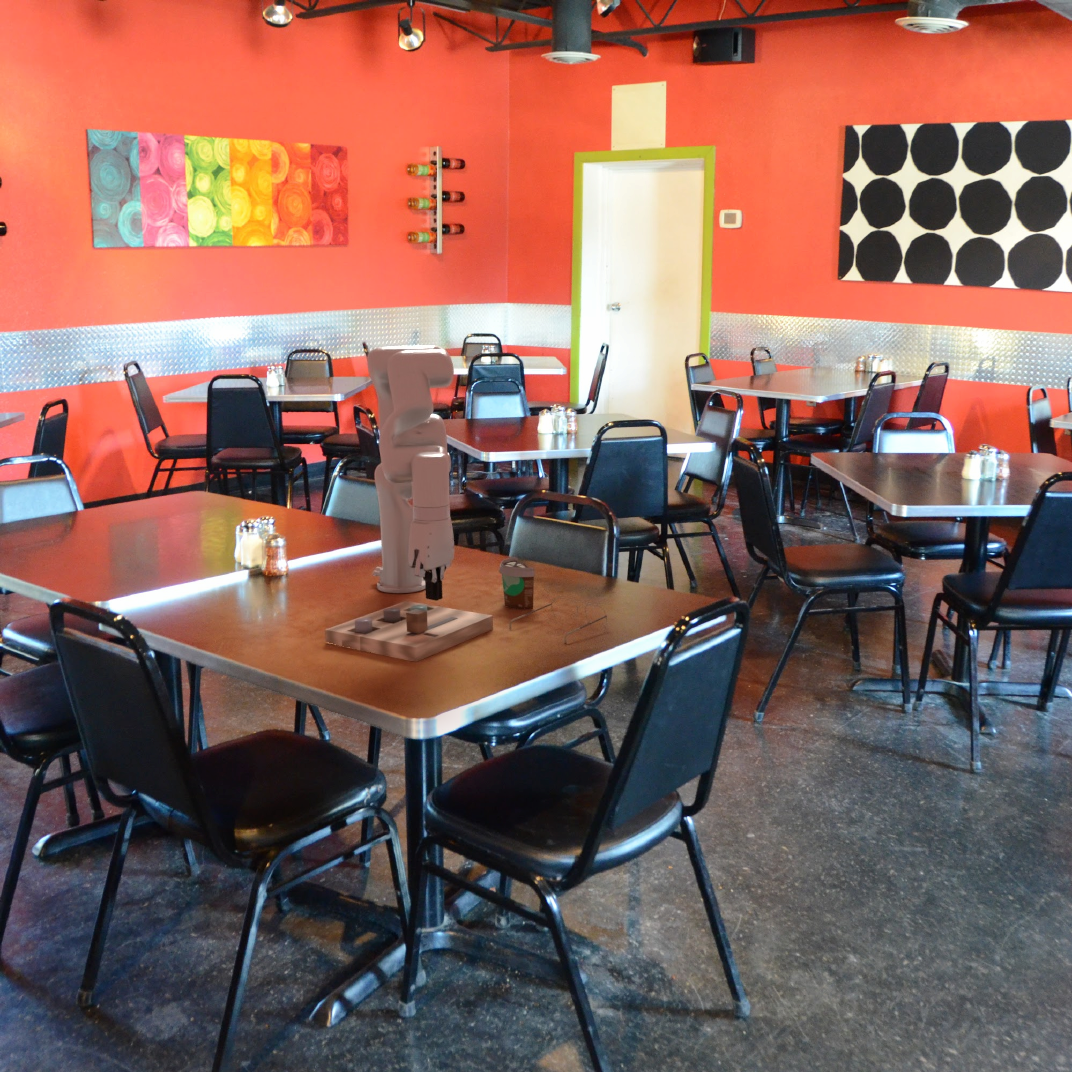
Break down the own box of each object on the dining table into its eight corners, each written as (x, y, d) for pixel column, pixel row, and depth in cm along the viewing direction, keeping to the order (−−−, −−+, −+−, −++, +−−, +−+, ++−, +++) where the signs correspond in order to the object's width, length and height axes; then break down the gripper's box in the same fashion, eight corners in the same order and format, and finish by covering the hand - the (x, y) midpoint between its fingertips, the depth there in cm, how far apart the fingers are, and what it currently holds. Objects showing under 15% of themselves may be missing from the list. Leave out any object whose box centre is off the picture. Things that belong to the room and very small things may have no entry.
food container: (492, 600, 272) (491, 558, 270) (517, 597, 275) (516, 556, 272) (509, 613, 261) (508, 570, 259) (535, 610, 263) (534, 567, 261)
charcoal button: (380, 624, 247) (379, 610, 246) (391, 620, 250) (390, 606, 249) (393, 626, 245) (392, 613, 245) (404, 622, 248) (403, 609, 247)
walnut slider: (406, 631, 237) (406, 612, 236) (416, 627, 239) (415, 609, 238) (418, 633, 235) (417, 614, 234) (427, 629, 238) (426, 611, 237)
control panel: (326, 643, 241) (325, 629, 241) (406, 613, 262) (405, 600, 262) (416, 661, 228) (415, 646, 228) (493, 629, 249) (492, 615, 249)
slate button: (351, 635, 240) (350, 621, 239) (363, 630, 243) (362, 617, 242) (364, 637, 238) (364, 623, 237) (376, 633, 241) (375, 619, 240)
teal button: (407, 620, 255) (407, 607, 254) (418, 617, 258) (417, 603, 257) (420, 623, 253) (420, 609, 252) (430, 619, 256) (430, 606, 255)
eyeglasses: (611, 629, 250) (610, 606, 249) (565, 645, 239) (564, 621, 238) (555, 616, 260) (555, 594, 259) (509, 631, 250) (508, 608, 248)
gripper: (439, 504, 246) (442, 587, 250) (393, 517, 233) (397, 605, 238) (468, 508, 242) (470, 592, 246) (422, 522, 229) (425, 611, 234)
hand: (434, 598), depth 242 cm, fingers closed
